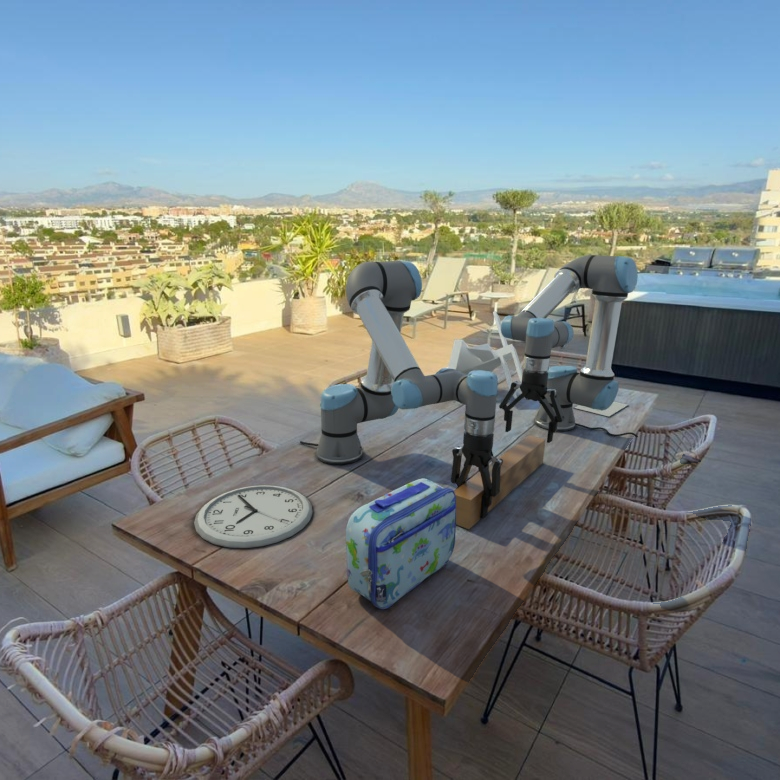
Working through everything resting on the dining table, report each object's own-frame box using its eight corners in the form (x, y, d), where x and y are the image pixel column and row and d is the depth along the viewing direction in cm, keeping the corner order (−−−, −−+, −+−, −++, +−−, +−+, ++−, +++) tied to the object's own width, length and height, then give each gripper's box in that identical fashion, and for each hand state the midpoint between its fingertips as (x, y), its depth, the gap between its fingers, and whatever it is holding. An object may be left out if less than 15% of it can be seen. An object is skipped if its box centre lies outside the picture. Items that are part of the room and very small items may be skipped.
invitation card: (608, 416, 214) (573, 407, 224) (608, 416, 214) (573, 408, 224) (628, 404, 229) (594, 396, 238) (628, 405, 229) (594, 397, 238)
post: (526, 458, 174) (528, 435, 172) (542, 463, 171) (545, 439, 168) (449, 522, 136) (451, 493, 133) (468, 529, 132) (470, 500, 130)
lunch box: (375, 622, 100) (376, 527, 94) (339, 595, 108) (338, 505, 101) (459, 565, 118) (465, 481, 112) (424, 545, 125) (427, 465, 119)
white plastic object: (461, 429, 252) (437, 405, 227) (444, 352, 274) (420, 323, 250) (535, 404, 240) (518, 377, 215) (510, 326, 262) (492, 293, 237)
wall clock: (308, 539, 124) (178, 544, 121) (308, 545, 124) (179, 550, 122) (315, 481, 152) (209, 483, 150) (315, 486, 153) (210, 488, 150)
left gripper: (439, 427, 135) (435, 506, 142) (506, 445, 124) (498, 530, 131) (454, 419, 141) (449, 496, 148) (519, 436, 130) (511, 518, 137)
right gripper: (492, 365, 161) (486, 429, 167) (573, 380, 147) (563, 450, 153) (502, 361, 167) (497, 423, 173) (581, 375, 153) (572, 442, 159)
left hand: (472, 512), depth 140 cm, fingers closed on post, 6 cm apart
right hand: (528, 436), depth 163 cm, fingers open, 13 cm apart
